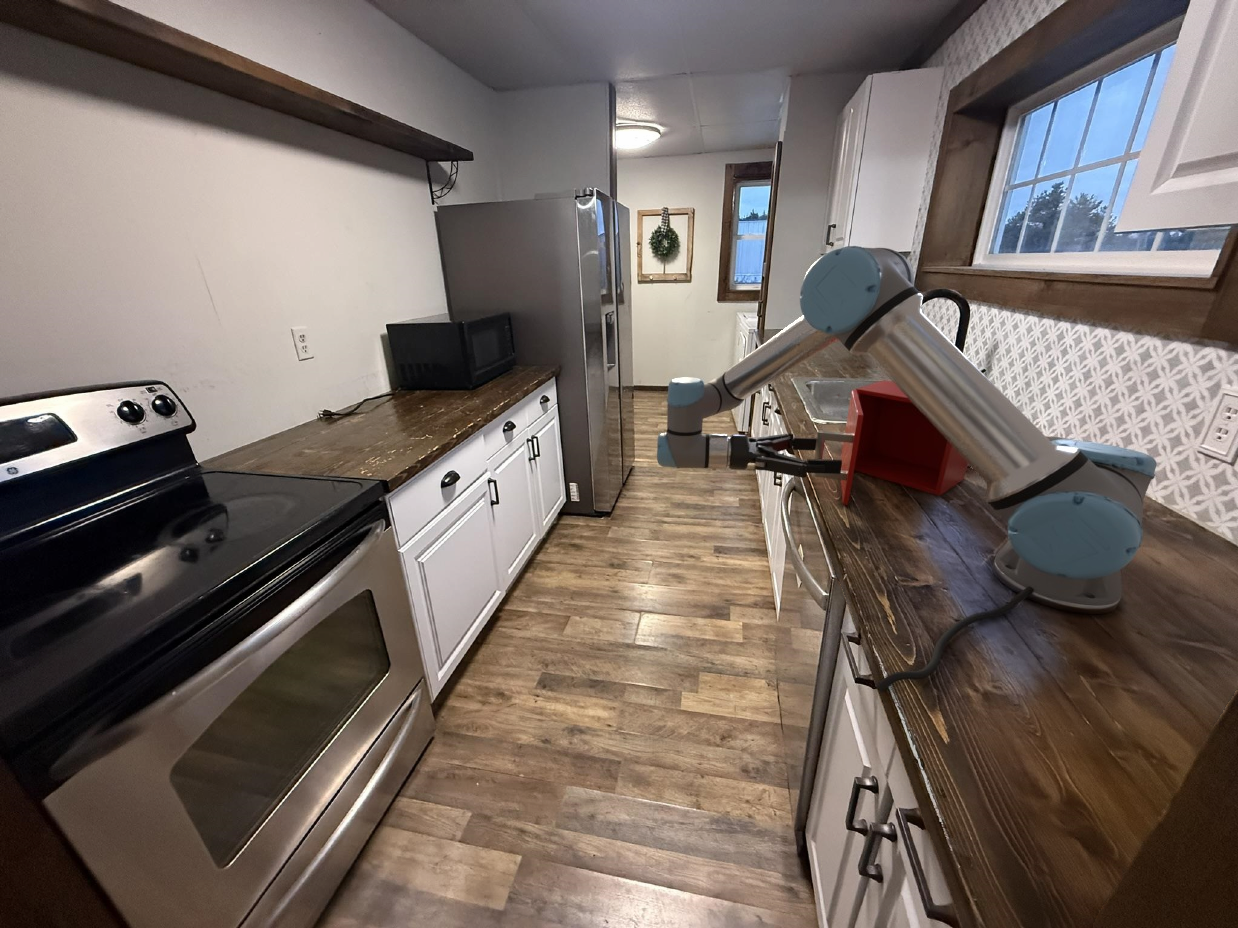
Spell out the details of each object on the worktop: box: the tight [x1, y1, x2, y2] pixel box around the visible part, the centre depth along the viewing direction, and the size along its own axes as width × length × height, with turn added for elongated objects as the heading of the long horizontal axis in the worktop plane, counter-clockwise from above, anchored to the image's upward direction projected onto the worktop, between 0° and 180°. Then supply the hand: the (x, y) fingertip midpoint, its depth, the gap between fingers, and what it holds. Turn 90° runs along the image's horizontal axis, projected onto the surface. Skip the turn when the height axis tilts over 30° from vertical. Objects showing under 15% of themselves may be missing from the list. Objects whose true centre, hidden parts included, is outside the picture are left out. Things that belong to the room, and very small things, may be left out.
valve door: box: [811, 389, 864, 506], centre depth 111 cm, size 8×22×20 cm, turn 159°
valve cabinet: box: [854, 379, 968, 496], centre depth 116 cm, size 14×22×20 cm, turn 38°
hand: (832, 455), depth 104 cm, fingers open, 13 cm apart
